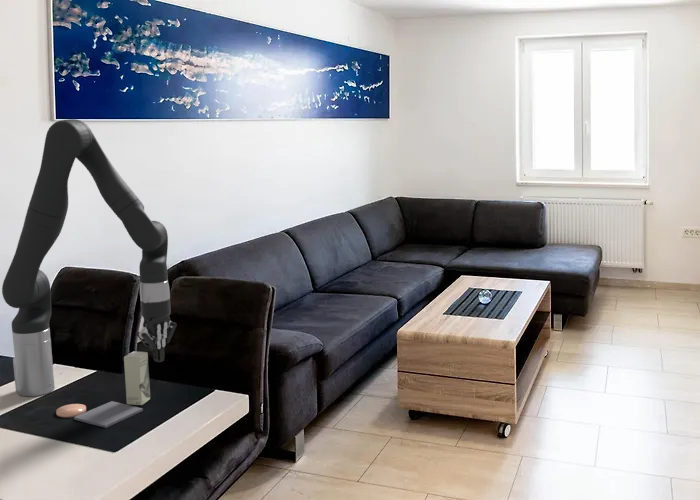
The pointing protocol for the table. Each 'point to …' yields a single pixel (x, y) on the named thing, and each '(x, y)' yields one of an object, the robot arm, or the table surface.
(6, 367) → the table surface
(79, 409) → the glossy peach dome
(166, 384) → the table surface
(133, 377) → the box
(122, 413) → the mat
